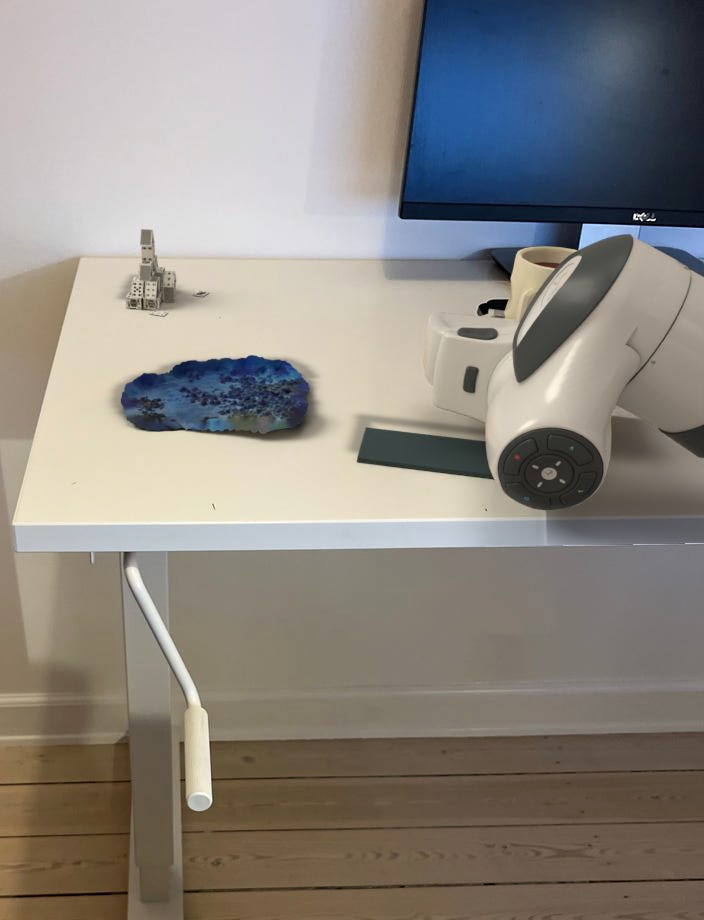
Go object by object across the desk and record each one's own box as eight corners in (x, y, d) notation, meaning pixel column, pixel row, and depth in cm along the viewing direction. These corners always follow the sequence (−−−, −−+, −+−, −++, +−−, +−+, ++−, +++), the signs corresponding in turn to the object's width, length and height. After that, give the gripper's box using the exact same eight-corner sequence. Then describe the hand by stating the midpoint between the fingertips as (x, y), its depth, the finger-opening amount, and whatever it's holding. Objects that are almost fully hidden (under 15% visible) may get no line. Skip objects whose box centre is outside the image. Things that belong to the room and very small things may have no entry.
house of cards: (199, 318, 109) (199, 246, 105) (121, 314, 110) (118, 242, 105) (209, 291, 116) (210, 222, 112) (136, 287, 117) (134, 219, 112)
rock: (307, 439, 86) (308, 418, 85) (113, 432, 87) (111, 411, 86) (310, 375, 98) (311, 356, 97) (138, 369, 99) (137, 350, 98)
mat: (527, 450, 86) (528, 446, 85) (527, 483, 81) (528, 478, 81) (365, 431, 88) (365, 427, 88) (356, 462, 83) (357, 457, 83)
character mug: (519, 371, 99) (547, 236, 91) (586, 391, 96) (622, 252, 88) (464, 405, 92) (490, 263, 85) (535, 428, 89) (568, 282, 81)
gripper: (693, 357, 76) (671, 298, 87) (424, 331, 80) (435, 277, 90) (669, 433, 80) (651, 367, 91) (413, 404, 83) (425, 344, 94)
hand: (541, 322), depth 90 cm, fingers closed on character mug, 7 cm apart
